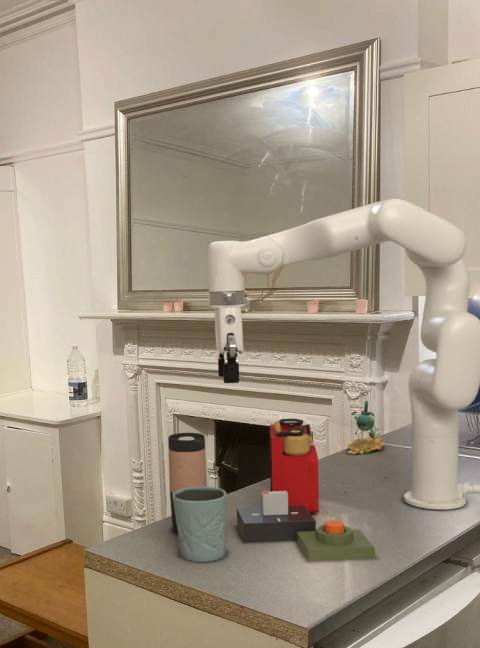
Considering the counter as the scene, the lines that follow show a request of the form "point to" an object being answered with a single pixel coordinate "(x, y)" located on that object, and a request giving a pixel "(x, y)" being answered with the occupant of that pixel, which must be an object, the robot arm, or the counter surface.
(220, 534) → the teal embossed cup
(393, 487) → the counter surface
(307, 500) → the red coffee machine
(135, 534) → the counter surface
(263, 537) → the plate
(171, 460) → the travel mug
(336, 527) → the button
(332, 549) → the button block
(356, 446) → the green character figurine
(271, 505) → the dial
